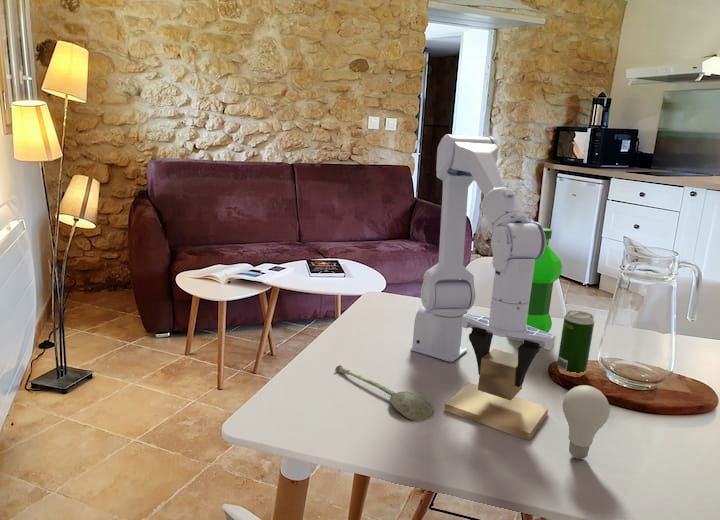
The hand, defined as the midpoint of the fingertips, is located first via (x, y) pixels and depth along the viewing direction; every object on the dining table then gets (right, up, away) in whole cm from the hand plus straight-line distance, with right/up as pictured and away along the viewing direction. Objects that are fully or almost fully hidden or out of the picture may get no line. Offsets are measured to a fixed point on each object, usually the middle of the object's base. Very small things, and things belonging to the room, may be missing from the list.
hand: (500, 378), depth 88 cm
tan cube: (0, -2, +1) cm, 2 cm away
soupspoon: (-19, -4, +6) cm, 21 cm away
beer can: (+19, -3, +19) cm, 26 cm away
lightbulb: (+8, -9, -10) cm, 16 cm away
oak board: (0, -6, +1) cm, 6 cm away
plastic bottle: (+16, +2, +37) cm, 40 cm away
